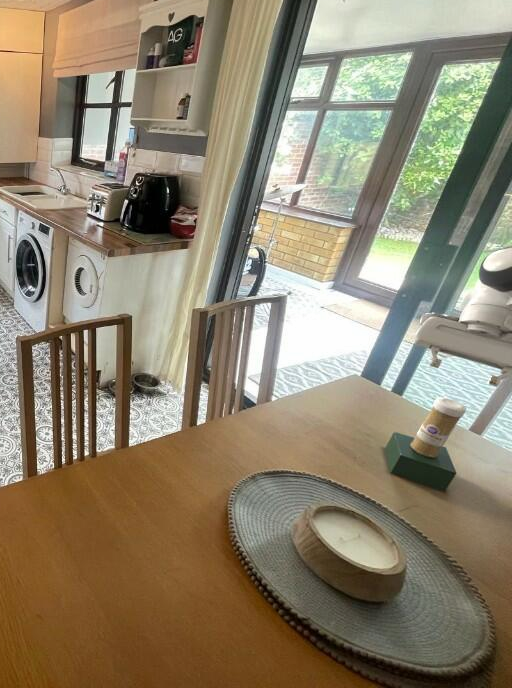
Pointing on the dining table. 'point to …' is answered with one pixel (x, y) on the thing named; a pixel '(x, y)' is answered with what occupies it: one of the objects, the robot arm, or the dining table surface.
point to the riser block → (419, 463)
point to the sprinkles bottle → (437, 426)
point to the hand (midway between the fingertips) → (462, 375)
